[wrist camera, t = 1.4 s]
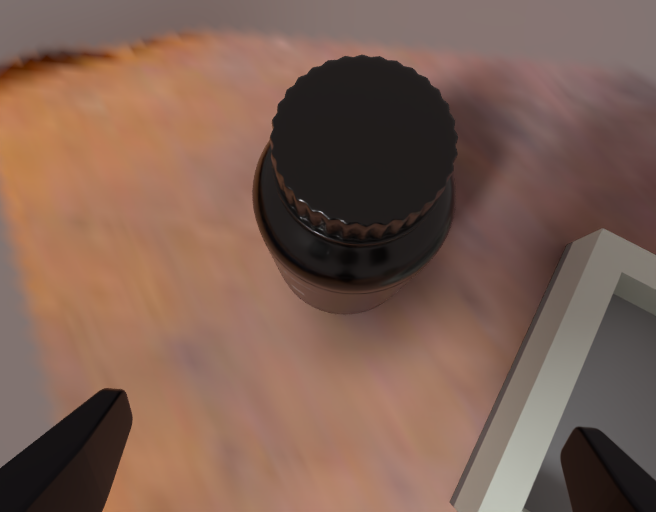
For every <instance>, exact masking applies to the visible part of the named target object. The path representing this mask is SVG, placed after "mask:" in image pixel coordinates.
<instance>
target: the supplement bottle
mask: <svg viewBox="0 0 656 512" xmlns="http://www.w3.org/2000/svg"><path fill="white" fill-rule="evenodd" d="M454 126H455V120H454V118H453V117H452V115H451V114H450V113H449V105H448V103H447V102H446V101H444V100H443V99H442V97H441V93H440V91H439V90H438V89H437V88H435V87H433V86H432V85H431V84H430V81H429V80H428V78H426V77H424V76H421V75H419V74H418V73H417V72H416V71H415V70H414V69H413V68H410V67H406V66H403V65H402V64H401V63H399V62H398V61H393V60H386V59H384V58H382V57H380V56H377V57H368V56H365V55H359V56H356V57H349V56H344V57H342V58H340V59H338V60H328V61H327V62H325V63H324V64H323V65H322V66H319V67H313V68H312V69H311V70H310V71H309V72H308V73H307V74H306V75H304V76H301V77H299V78H298V79H297V81H296V83H295V85H294V86H292V87H290V88H289V89H287V91H286V94H285V98H284V99H283V100H282V101H281V102H280V103H279V104H278V108H277V114H276V115H275V117H274V118H273V120H272V128H273V131H272V133H271V136H270V140H269V142H268V143H267V145H266V146H265V148H264V150H263V152H262V154H261V156H260V158H259V161H258V164H257V167H256V170H255V175H254V180H253V190H252V195H253V208H254V213H255V217H256V221H257V224H258V227H259V230H260V233H261V235H262V237H263V239H264V242H265V244H266V246H267V248H268V249H269V251H270V253H271V255H272V257H273V259H274V261H275V263H276V265H277V267H278V269H279V271H280V273H281V275H282V276H283V278H284V280H285V281H286V283H287V284H288V286H289V287H290V289H291V290H292V291H293V292H294V293H295V294H296V295H297V296H298V297H299V298H300V299H302V300H303V301H304V302H306V303H307V304H309V305H311V306H312V307H315V308H317V309H319V310H322V311H325V312H329V313H334V314H355V313H360V312H364V311H367V310H370V309H373V308H375V307H377V306H379V305H380V304H382V303H383V302H385V301H386V300H388V299H389V298H390V297H391V296H393V295H394V294H395V293H396V292H397V291H398V290H399V289H401V288H402V287H403V286H404V285H405V284H406V283H407V282H408V281H410V280H411V279H412V278H413V277H414V276H415V275H416V274H417V273H419V272H420V271H421V270H422V269H423V268H424V267H425V266H426V265H427V264H428V263H429V262H430V261H431V259H432V258H433V257H434V256H435V255H436V253H437V252H438V250H439V249H440V248H441V246H442V245H443V243H444V241H445V239H446V237H447V235H448V233H449V230H450V228H451V225H452V221H453V218H454V213H455V206H456V186H455V179H454V175H453V163H454V161H455V159H456V158H457V149H456V146H455V145H456V143H457V139H458V136H457V133H456V132H455V130H454Z"/></svg>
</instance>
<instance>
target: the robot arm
mask: <svg viewBox="0 0 656 512" xmlns="http://www.w3.org/2000/svg"><path fill="white" fill-rule="evenodd" d="M131 426H132V412H131V408H130V405H129V401H128V397H127V394H126V392H125V391H124V390H122V389H112V388H105V389H102V390H100V391H99V392H97V393H96V394H95V395H93V396H92V397H91V398H90V399H88V400H87V401H86V402H84V403H83V404H82V405H81V406H79V407H78V408H77V409H75V410H74V411H73V412H72V413H70V414H69V415H68V416H67V417H65V418H64V419H63V420H61V421H60V422H59V423H58V424H56V425H55V426H54V427H52V428H51V429H50V430H49V431H47V432H46V433H45V434H44V435H42V436H41V437H40V438H38V439H37V440H36V441H34V442H33V443H32V444H31V445H29V446H28V447H27V448H25V449H24V450H23V451H22V452H20V453H19V454H18V455H16V456H15V457H14V458H13V459H12V460H10V461H9V462H8V463H6V464H5V465H4V466H2V467H1V468H0V512H102V511H103V508H104V506H105V504H106V501H107V498H108V495H109V492H110V489H111V486H112V483H113V480H114V477H115V474H116V471H117V468H118V465H119V462H120V459H121V456H122V453H123V450H124V447H125V444H126V441H127V438H128V435H129V432H130V429H131ZM560 461H561V466H562V470H563V474H564V479H565V483H566V487H567V491H568V495H569V499H570V504H571V508H572V512H656V480H655V479H654V478H653V477H652V476H650V475H649V474H648V473H647V472H646V471H645V470H644V469H643V468H642V467H641V466H639V465H638V464H637V463H636V462H635V461H634V460H633V459H632V458H631V457H630V456H629V455H627V454H626V453H625V452H624V451H623V450H622V449H621V448H620V447H619V446H618V445H617V444H615V443H614V442H613V441H612V440H611V439H610V438H609V437H608V436H607V435H606V434H604V433H603V432H602V431H601V430H599V429H597V428H593V427H581V426H578V427H575V428H574V429H573V430H572V432H571V434H570V436H569V437H568V439H567V441H566V443H565V444H564V446H563V448H562V450H561V454H560Z"/></svg>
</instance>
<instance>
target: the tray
mask: <svg viewBox="0 0 656 512" xmlns="http://www.w3.org/2000/svg"><path fill="white" fill-rule="evenodd" d="M578 426H581V427H593V428H597V429H599V430H601V431H602V432H603V433H604V434H606V435H607V436H608V437H609V438H610V439H611V440H612V441H613V442H614V443H615V444H617V445H618V446H619V447H620V448H621V449H622V450H623V451H624V452H625V453H626V454H627V455H629V456H630V457H631V458H632V459H633V460H634V461H635V462H636V463H637V464H638V465H639V466H641V467H642V468H643V469H644V470H645V471H646V472H647V473H648V474H649V475H650V476H652V477H653V478H654V479H655V480H656V255H655V254H653V253H651V252H649V251H647V250H645V249H643V248H641V247H639V246H637V245H635V244H633V243H631V242H629V241H627V240H625V239H623V238H622V237H620V236H618V235H616V234H614V233H612V232H610V231H608V230H606V229H604V228H602V229H599V230H597V231H595V232H593V233H591V234H589V235H586V236H584V237H582V238H580V239H578V240H576V241H573V242H571V243H569V244H567V246H566V248H565V250H564V252H563V254H562V257H561V259H560V261H559V263H558V265H557V268H556V270H555V272H554V274H553V276H552V279H551V281H550V283H549V285H548V287H547V290H546V292H545V294H544V296H543V298H542V301H541V303H540V305H539V307H538V309H537V312H536V314H535V316H534V318H533V320H532V323H531V325H530V327H529V329H528V331H527V334H526V336H525V338H524V340H523V342H522V345H521V347H520V349H519V351H518V353H517V355H516V358H515V360H514V362H513V364H512V366H511V369H510V371H509V373H508V375H507V377H506V380H505V382H504V384H503V386H502V388H501V391H500V393H499V395H498V397H497V399H496V402H495V404H494V406H493V408H492V410H491V413H490V415H489V417H488V419H487V421H486V424H485V426H484V428H483V430H482V432H481V435H480V437H479V439H478V441H477V443H476V446H475V448H474V450H473V452H472V454H471V457H470V459H469V461H468V463H467V465H466V468H465V470H464V472H463V474H462V476H461V479H460V481H459V483H458V485H457V487H456V490H455V492H454V494H453V496H452V498H451V501H450V503H451V505H452V506H453V507H454V508H455V509H456V510H457V511H458V512H572V508H571V504H570V499H569V495H568V491H567V487H566V483H565V479H564V474H563V470H562V466H561V461H560V454H561V450H562V448H563V446H564V444H565V443H566V441H567V439H568V437H569V436H570V434H571V432H572V430H573V429H574V428H575V427H578Z"/></svg>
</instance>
